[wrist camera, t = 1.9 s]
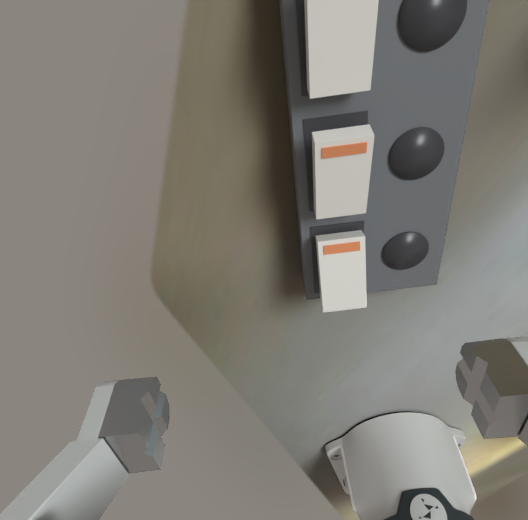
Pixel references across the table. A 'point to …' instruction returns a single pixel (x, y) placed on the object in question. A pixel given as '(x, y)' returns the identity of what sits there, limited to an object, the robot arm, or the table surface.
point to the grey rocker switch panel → (391, 134)
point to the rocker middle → (341, 170)
